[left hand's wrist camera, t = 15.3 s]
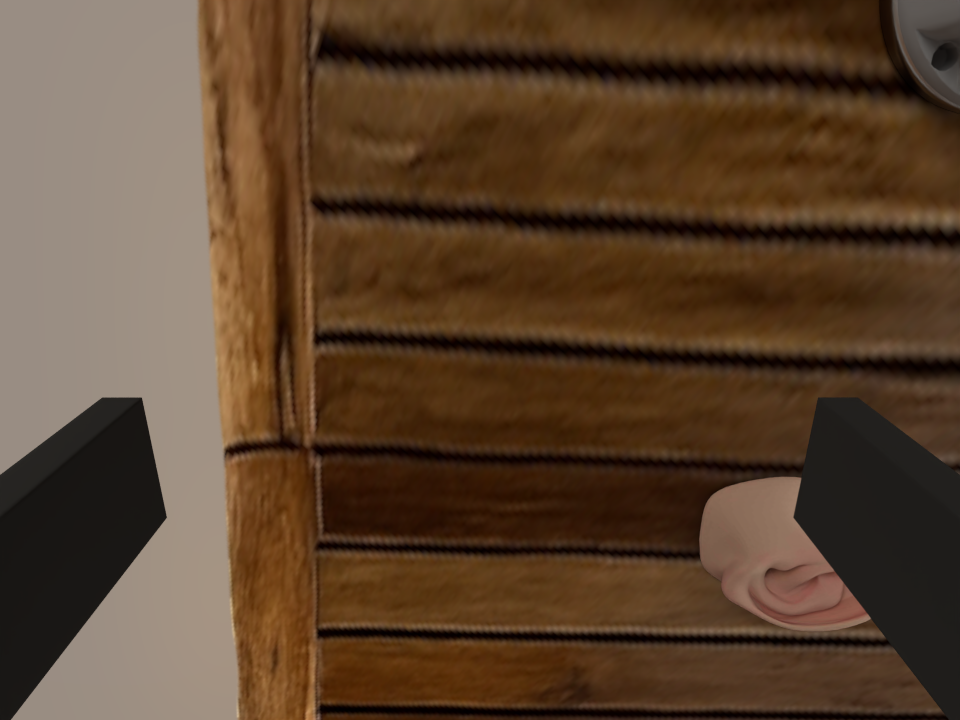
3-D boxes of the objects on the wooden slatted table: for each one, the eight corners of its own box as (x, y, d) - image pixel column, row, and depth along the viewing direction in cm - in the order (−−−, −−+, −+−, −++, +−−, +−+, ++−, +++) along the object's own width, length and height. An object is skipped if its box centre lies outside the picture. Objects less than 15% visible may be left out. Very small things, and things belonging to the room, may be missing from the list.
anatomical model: (691, 540, 44) (857, 473, 42) (675, 506, 48) (827, 444, 46) (753, 671, 48) (906, 616, 46) (733, 631, 52) (874, 578, 50)
